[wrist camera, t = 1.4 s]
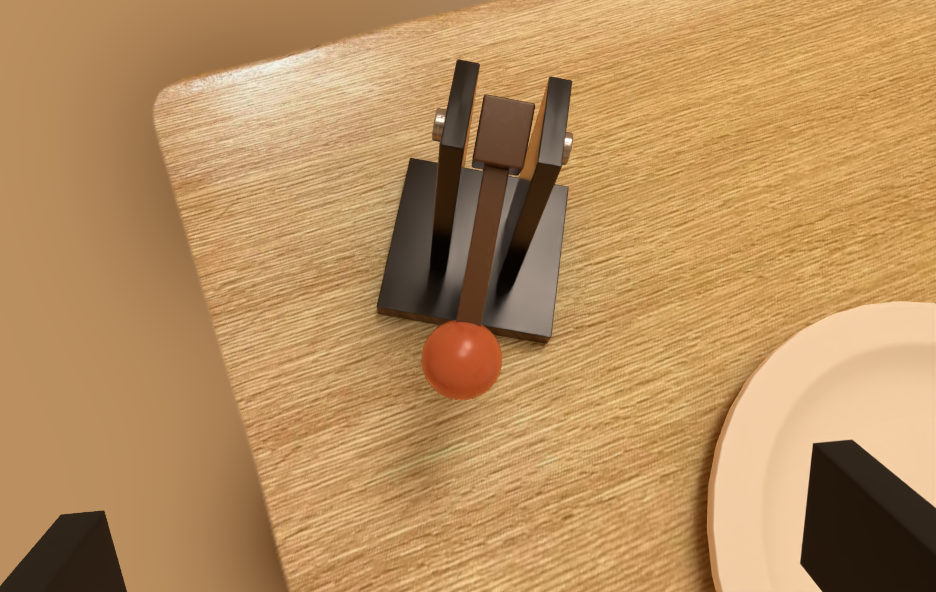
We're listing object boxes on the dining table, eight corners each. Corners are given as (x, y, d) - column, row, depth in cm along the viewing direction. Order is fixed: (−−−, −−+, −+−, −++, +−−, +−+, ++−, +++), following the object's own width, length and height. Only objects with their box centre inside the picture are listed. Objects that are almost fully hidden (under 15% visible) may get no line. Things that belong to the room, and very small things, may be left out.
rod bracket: (547, 344, 38) (617, 239, 25) (377, 313, 38) (362, 193, 25) (564, 196, 42) (633, 40, 29) (410, 167, 42) (411, -2, 29)
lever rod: (492, 397, 31) (496, 415, 28) (417, 383, 31) (412, 400, 28) (543, 120, 31) (554, 102, 27) (466, 106, 30) (468, 86, 27)
